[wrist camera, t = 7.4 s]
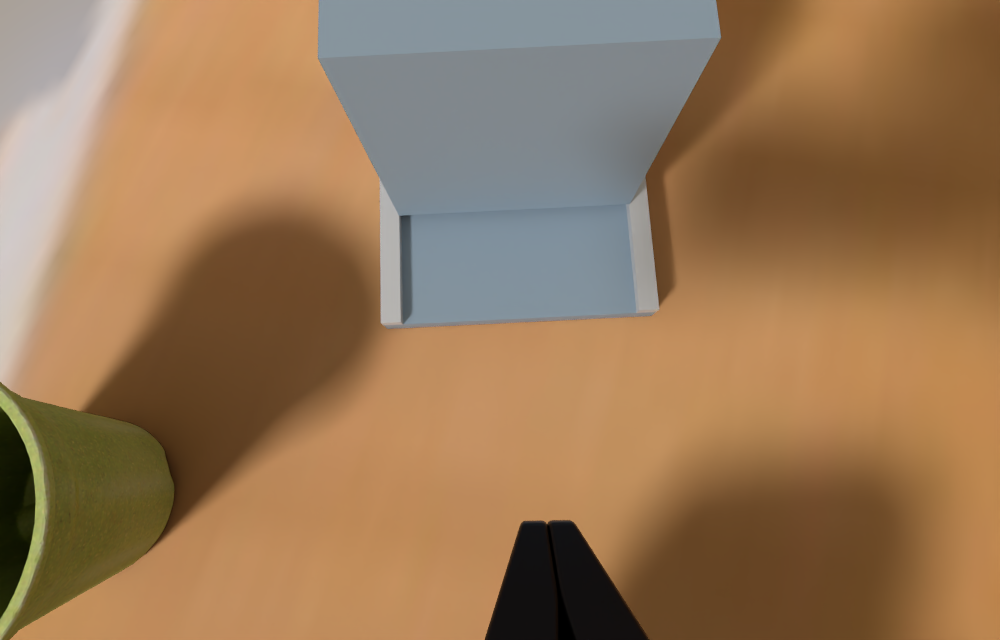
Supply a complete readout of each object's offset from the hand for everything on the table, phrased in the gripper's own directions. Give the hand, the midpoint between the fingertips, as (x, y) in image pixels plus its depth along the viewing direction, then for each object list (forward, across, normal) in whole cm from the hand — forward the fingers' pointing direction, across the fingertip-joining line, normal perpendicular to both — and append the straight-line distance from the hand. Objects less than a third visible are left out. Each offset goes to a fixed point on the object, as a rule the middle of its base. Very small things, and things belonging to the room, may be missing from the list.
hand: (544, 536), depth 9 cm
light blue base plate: (+19, 0, 0) cm, 19 cm away
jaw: (+17, 0, 0) cm, 17 cm away
